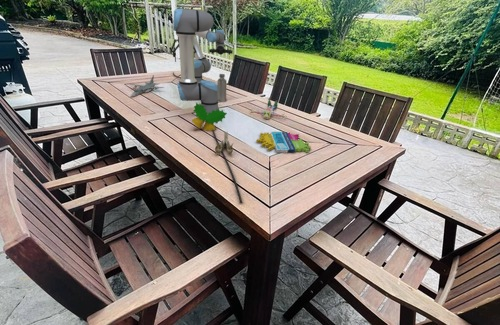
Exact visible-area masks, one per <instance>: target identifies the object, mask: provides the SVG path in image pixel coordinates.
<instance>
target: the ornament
mask: <svg viewBox="0 0 500 325" xmlns="http://www.w3.org/2000/svg"><path fill="white" fill-rule="evenodd" d="M219 110H220V108H219V109H217V110H216V111H214V110H212V112H211V113H208V112H206V109H204V106H201V103H198V102H196V101H195V105H194V106H193V112H194V113H195V118H192V119H191V122H192V123H193V125H195V127H197V128H198V129H202V130H203V131H206V132H213V131H212V130H214V131H215V130H216V126H215V124H218V123H219V122H223V119H226V115H227V114H228V113H227V112H224V110H223V109H221V110H220V111H219ZM207 113H208V115H207ZM214 123H215V124H214Z"/></svg>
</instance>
